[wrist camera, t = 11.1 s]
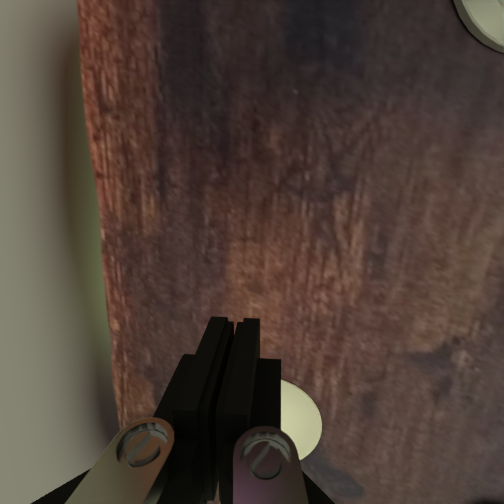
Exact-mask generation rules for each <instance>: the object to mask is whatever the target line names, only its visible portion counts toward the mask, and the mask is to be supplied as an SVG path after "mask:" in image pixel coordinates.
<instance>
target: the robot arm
mask: <svg viewBox="0 0 504 504" xmlns="http://www.w3.org/2000/svg"><path fill="white" fill-rule="evenodd" d="M453 1H454V4H455V6H456V9H457V11H458V14H459V16H460V18H461V20H462V21H463V23H464V24H465V25H466V27H467V28H468V30H469V31H470V33H472V34H473V35H474V36H475V37H476V38H477V39H478V40H479V41H481V42H482V43H483V44H485V45H487V46H488V47H490V48H492V49H494V50H496V51H498V52H502V53H504V0H453ZM218 481H219V500H220V502H221V504H335V503H334V502H333V501H332V500H331V499H330V498H329V497H328V496H327V495H326V494H325V493H324V492H323V491H322V490H321V489H320V488H319V487H318V486H317V485H316V484H315V483H314V482H313V481H312V480H311V479H310V478H309V477H308V476H307V475H306V474H305V473H304V472H303V471H302V469H301V465H300V460H299V455H298V451H297V449H296V446H295V443H294V442H293V441H292V439H291V438H290V437H289V435H287V434H286V433H284V432H283V431H282V430H281V359H264V358H260V319H256V318H244V320H243V322H238V323H237V326H236V330H235V334H234V323H233V322H228V318H227V317H211V318H210V320H209V323H208V325H207V328H206V330H205V332H204V335H203V337H202V339H201V342H200V344H199V347H198V349H197V351H196V354H195V355H193V354H184V355H183V356H182V358H181V360H180V362H179V364H178V366H177V368H176V370H175V372H174V374H173V376H172V378H171V381H170V383H169V385H168V387H167V389H166V391H165V393H164V395H163V397H162V399H161V401H160V403H159V406H158V408H157V410H156V412H155V414H154V416H153V417H149V418H143V419H139V420H137V421H135V422H132V423H130V424H129V425H127V426H126V427H125V428H123V429H122V430H121V431H120V432H119V433H118V434H117V435H116V437H115V438H114V439H113V440H112V442H111V443H110V444H109V446H108V447H107V448H106V450H105V451H104V452H103V453H102V455H101V456H100V457H99V459H98V461H96V463H95V464H94V466H93V467H92V468H91V469H89V470H87V471H86V472H84V473H82V474H81V475H79V476H77V477H76V478H74V479H72V480H70V481H69V482H67V483H65V484H63V485H62V486H60V487H59V488H57V489H55V490H53V491H52V492H50V493H48V494H46V495H45V496H43V497H41V498H40V499H38V500H36V501H35V502H33V503H31V504H207V501H214V499H215V495H216V490H217V485H218Z"/></svg>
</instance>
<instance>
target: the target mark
mask: <svg viewBox="0 0 504 504" xmlns="http://www.w3.org/2000/svg"><path fill="white" fill-rule="evenodd" d="M281 430H282V431H283V432H284V433H286V434H287V435H289V437H290V438H291V439H292V441H293V442H294V443H295V446H296V449H297V451H298V455H299V460H301V459H303V458H304V457H306V456H307V455H308V454H309V453H310V452H311V451H312V450H313V449H314V448H315V447H316V445H317V443H318V441H319V439H320V436H321V431H322V421H321V416H320V413H319V410H318V408H317V406H316V404H315V403H314V401H313V400H312V399H311V397H310V396H309V395H308V394H307V393H306V392H304V391H303V390H302V389H301V388H299V387H297V386H296V385H294V384H292V383H290V382H288V381H286V380H283V379H281Z"/></svg>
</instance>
